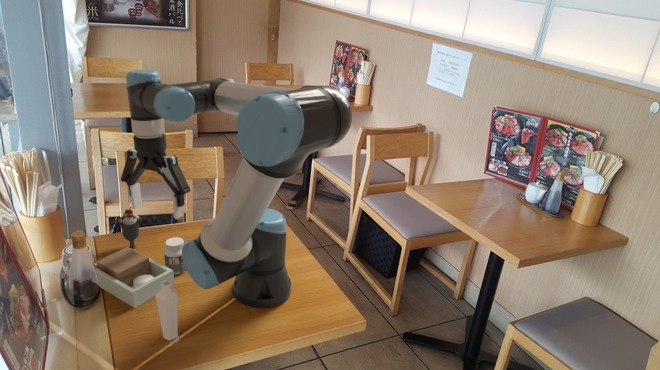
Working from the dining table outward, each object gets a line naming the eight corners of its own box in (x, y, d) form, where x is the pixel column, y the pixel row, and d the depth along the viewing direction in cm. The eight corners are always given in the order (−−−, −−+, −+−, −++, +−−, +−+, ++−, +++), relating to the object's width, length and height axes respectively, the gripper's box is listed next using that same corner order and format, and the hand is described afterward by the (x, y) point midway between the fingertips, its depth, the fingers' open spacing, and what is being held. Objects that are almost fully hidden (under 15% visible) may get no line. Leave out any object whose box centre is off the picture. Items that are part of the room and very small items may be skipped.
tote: (174, 287, 122) (173, 270, 120) (135, 311, 113) (132, 292, 110) (131, 264, 131) (129, 247, 128) (91, 284, 121) (88, 266, 119)
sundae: (136, 257, 134) (131, 211, 128) (116, 254, 135) (109, 207, 129) (149, 246, 140) (144, 201, 134) (129, 242, 141) (123, 198, 135)
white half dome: (159, 289, 120) (158, 279, 118) (143, 298, 116) (141, 288, 115) (147, 282, 122) (145, 272, 121) (130, 291, 118) (129, 281, 117)
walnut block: (150, 277, 124) (148, 258, 122) (120, 293, 117) (118, 273, 115) (129, 265, 128) (127, 246, 126) (99, 280, 121) (96, 261, 119)
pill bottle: (187, 277, 127) (184, 246, 123) (165, 279, 125) (162, 247, 121) (188, 266, 132) (185, 235, 128) (166, 267, 130) (164, 237, 126)
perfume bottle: (175, 328, 108) (171, 274, 102) (184, 338, 105) (180, 283, 99) (156, 336, 105) (150, 281, 99) (165, 347, 102) (159, 291, 96)
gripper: (200, 137, 114) (206, 215, 121) (121, 124, 122) (131, 198, 130) (181, 145, 107) (188, 227, 115) (98, 131, 115) (110, 208, 123)
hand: (157, 212), depth 122 cm, fingers open, 13 cm apart
